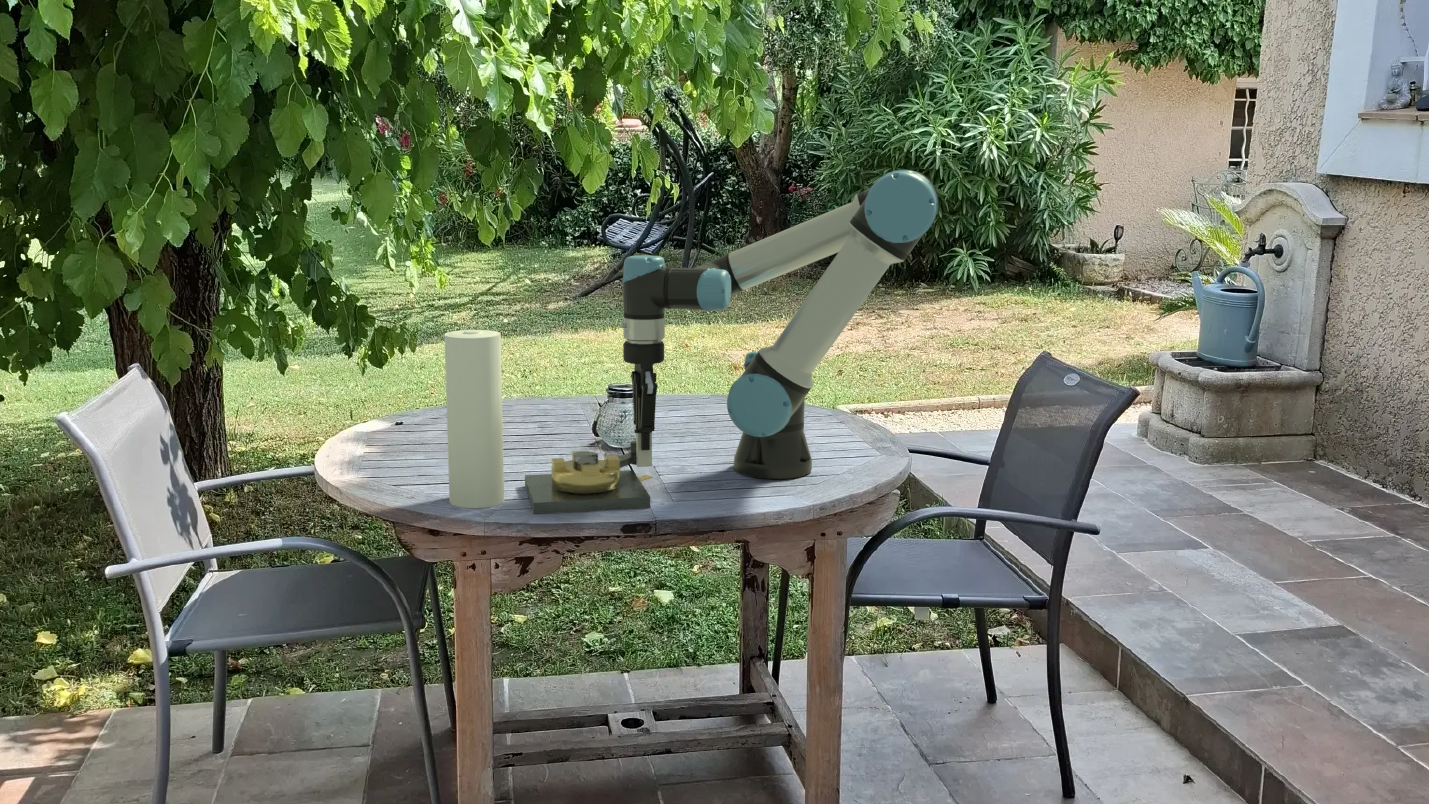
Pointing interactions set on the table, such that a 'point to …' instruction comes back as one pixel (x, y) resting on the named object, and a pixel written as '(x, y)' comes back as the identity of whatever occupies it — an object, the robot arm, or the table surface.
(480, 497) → the cylinder container
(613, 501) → the collar plate
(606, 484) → the ring nut
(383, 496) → the table surface
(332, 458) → the table surface
